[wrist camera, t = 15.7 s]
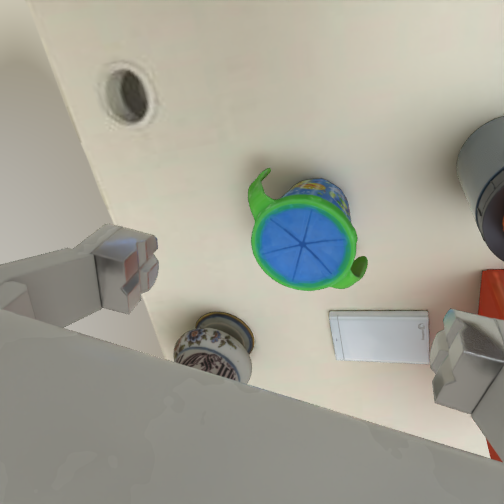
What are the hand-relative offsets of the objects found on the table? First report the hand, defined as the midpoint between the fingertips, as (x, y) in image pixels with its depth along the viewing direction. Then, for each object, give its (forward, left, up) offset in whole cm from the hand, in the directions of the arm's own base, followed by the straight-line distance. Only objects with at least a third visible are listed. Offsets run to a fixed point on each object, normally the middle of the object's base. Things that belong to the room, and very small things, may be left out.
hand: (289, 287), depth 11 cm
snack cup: (+6, -13, -35) cm, 38 cm away
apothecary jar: (+11, -40, -35) cm, 54 cm away
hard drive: (+25, -21, -35) cm, 48 cm away
